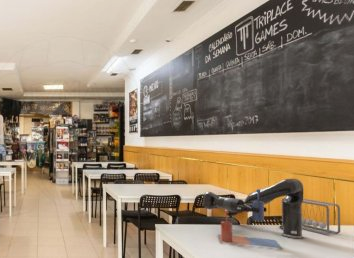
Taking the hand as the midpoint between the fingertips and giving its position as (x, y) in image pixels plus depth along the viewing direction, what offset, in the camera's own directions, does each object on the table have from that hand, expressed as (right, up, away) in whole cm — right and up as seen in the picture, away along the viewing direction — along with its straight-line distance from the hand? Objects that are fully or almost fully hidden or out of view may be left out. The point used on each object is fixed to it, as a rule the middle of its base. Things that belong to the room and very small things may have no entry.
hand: (262, 210), depth 181 cm
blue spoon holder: (-1, -6, +2) cm, 6 cm away
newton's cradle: (+49, -20, +33) cm, 63 cm away
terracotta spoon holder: (-19, -17, +1) cm, 25 cm away
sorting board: (-7, -18, +2) cm, 19 cm away
